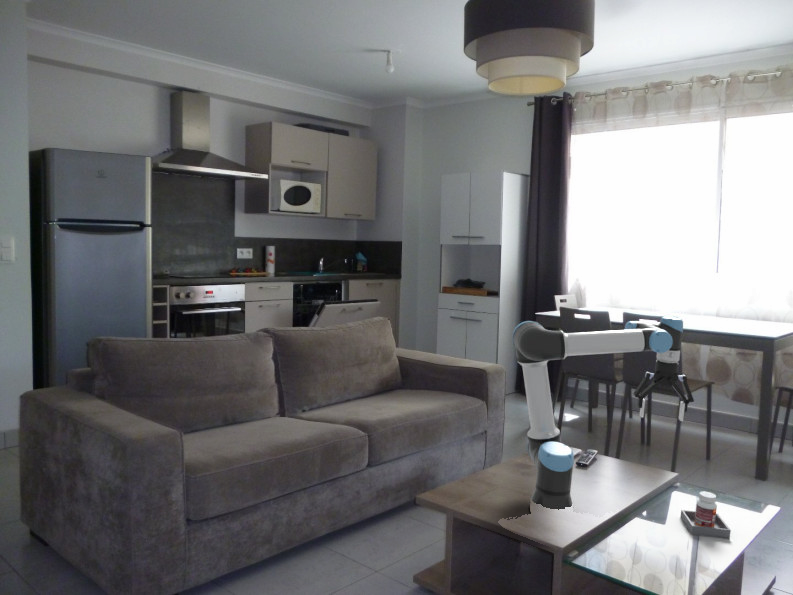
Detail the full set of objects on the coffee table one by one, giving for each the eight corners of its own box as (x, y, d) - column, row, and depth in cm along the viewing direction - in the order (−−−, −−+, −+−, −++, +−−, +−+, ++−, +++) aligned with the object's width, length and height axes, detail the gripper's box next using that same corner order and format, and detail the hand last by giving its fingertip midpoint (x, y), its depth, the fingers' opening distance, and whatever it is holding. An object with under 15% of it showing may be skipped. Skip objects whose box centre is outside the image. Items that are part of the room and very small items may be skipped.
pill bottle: (715, 532, 217) (719, 499, 216) (695, 528, 219) (699, 496, 218) (712, 524, 223) (716, 492, 222) (692, 520, 225) (696, 489, 223)
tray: (691, 534, 216) (692, 526, 216) (680, 517, 228) (681, 509, 227) (729, 538, 215) (730, 530, 214) (716, 521, 226) (717, 513, 226)
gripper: (633, 359, 230) (627, 418, 233) (707, 365, 227) (700, 424, 230) (628, 355, 238) (622, 411, 240) (700, 361, 235) (693, 418, 237)
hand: (660, 418), depth 235 cm, fingers open, 13 cm apart
